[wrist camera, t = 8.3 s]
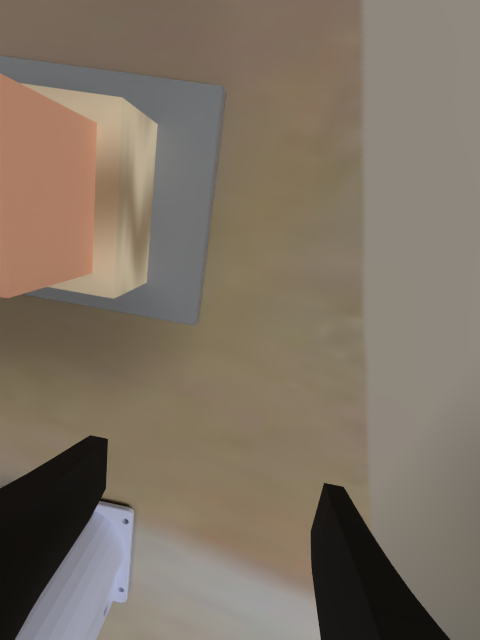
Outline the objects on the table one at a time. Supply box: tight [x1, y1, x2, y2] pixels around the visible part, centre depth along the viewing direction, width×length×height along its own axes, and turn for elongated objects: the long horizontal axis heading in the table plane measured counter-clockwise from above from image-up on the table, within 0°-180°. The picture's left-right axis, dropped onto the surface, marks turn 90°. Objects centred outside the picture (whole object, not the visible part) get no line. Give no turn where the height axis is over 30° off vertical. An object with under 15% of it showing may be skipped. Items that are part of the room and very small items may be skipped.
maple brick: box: [20, 83, 158, 299], centre depth 16 cm, size 8×6×4 cm
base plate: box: [0, 56, 226, 325], centre depth 19 cm, size 12×12×1 cm
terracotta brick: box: [0, 73, 97, 298], centre depth 12 cm, size 6×4×5 cm, turn 171°
